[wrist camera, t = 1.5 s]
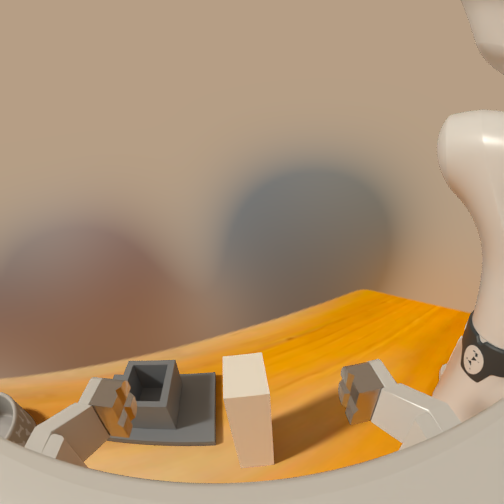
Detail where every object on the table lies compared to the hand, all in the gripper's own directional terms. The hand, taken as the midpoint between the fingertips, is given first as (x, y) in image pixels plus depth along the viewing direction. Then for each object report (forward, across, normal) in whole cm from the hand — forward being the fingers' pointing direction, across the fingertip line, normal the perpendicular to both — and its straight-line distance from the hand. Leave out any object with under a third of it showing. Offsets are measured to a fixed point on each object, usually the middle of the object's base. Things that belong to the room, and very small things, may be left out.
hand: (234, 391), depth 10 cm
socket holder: (+21, +14, +25) cm, 35 cm away
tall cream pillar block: (+13, -1, +25) cm, 28 cm away
